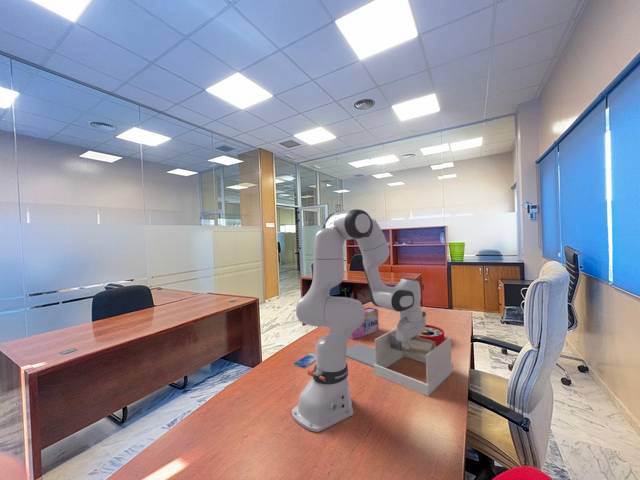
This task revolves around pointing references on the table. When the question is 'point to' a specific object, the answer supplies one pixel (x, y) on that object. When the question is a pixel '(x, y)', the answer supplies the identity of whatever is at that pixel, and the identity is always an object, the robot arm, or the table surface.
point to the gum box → (367, 324)
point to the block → (413, 345)
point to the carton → (435, 359)
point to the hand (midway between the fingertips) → (411, 346)
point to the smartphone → (306, 361)
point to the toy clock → (433, 334)
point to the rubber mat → (361, 354)
